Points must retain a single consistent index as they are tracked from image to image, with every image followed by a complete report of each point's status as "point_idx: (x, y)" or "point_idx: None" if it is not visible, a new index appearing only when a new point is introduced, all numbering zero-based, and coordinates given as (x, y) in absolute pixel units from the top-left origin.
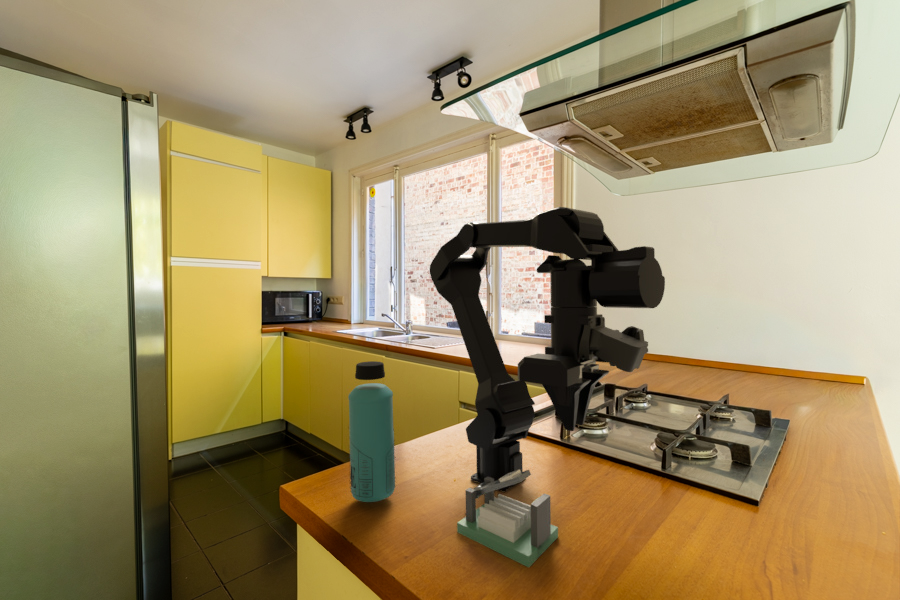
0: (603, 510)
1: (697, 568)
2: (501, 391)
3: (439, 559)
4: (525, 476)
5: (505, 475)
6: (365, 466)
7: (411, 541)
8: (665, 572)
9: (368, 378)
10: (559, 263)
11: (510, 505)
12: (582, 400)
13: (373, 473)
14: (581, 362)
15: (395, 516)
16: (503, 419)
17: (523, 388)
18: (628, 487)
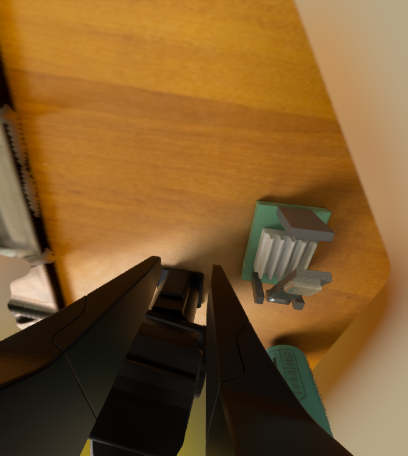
0: (169, 171)
1: (235, 11)
2: (172, 435)
3: (342, 276)
4: (312, 272)
5: (297, 293)
6: (318, 393)
7: (325, 303)
8: (267, 57)
9: None
10: None
11: (276, 260)
12: (120, 313)
13: (311, 380)
14: None
15: (294, 326)
16: (199, 365)
17: (103, 408)
18: (88, 157)
